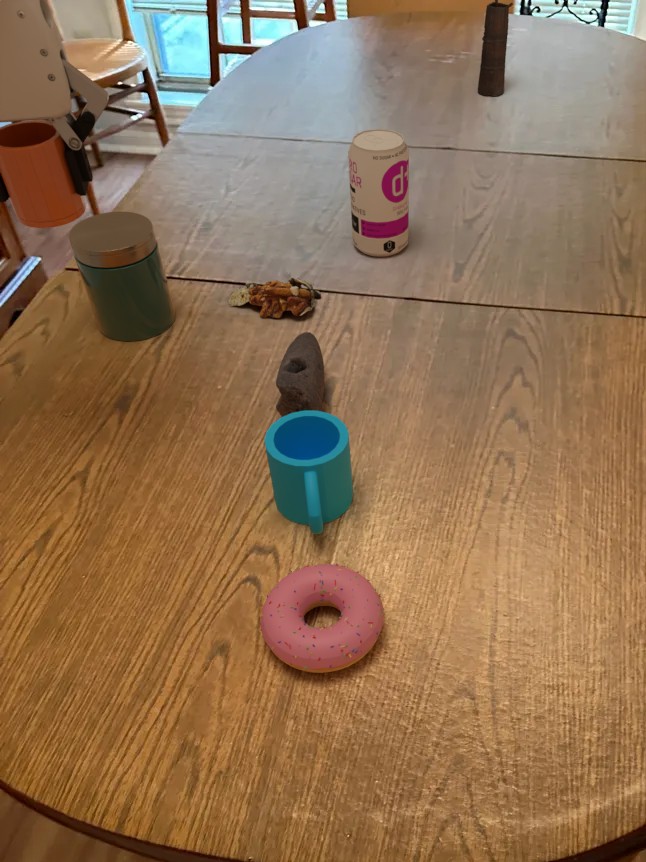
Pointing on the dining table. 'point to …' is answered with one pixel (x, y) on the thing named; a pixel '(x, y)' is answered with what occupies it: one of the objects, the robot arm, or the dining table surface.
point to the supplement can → (379, 191)
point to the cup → (38, 175)
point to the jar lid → (112, 239)
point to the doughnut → (327, 644)
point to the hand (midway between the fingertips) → (44, 190)
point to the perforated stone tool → (301, 376)
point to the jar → (130, 298)
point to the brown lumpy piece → (277, 297)
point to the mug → (310, 467)
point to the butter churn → (494, 49)
